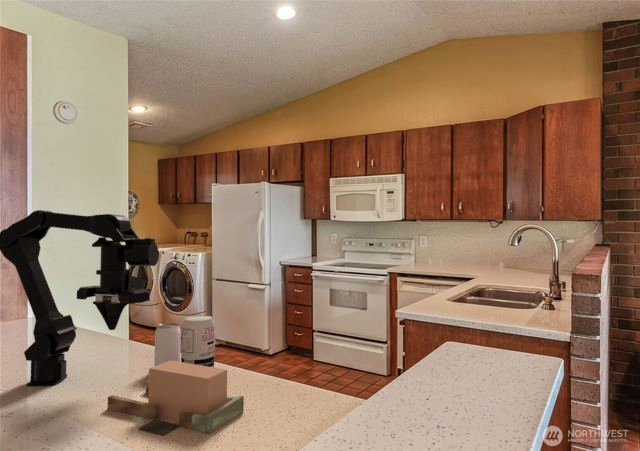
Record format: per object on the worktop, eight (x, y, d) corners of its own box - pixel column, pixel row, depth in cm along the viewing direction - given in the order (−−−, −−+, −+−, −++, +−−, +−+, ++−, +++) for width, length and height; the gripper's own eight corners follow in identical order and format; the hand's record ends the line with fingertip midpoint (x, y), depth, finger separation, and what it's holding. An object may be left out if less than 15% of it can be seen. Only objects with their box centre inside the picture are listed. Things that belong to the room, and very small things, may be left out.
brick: (148, 412, 85) (149, 368, 85) (169, 402, 90) (170, 360, 90) (207, 426, 79) (208, 378, 79) (226, 414, 84) (227, 369, 84)
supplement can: (185, 372, 110) (185, 315, 110) (216, 371, 110) (217, 314, 111) (177, 382, 101) (178, 321, 102) (211, 382, 102) (212, 321, 103)
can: (171, 375, 107) (172, 328, 107) (149, 373, 108) (149, 327, 109) (184, 367, 113) (185, 323, 114) (163, 365, 115) (164, 322, 115)
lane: (90, 416, 82) (90, 401, 82) (161, 385, 100) (162, 372, 100) (194, 443, 72) (194, 426, 72) (254, 403, 89) (254, 389, 89)
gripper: (167, 265, 105) (166, 326, 105) (114, 262, 113) (113, 320, 112) (131, 267, 95) (129, 336, 94) (75, 265, 102) (74, 328, 102)
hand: (112, 329), depth 101 cm, fingers closed
